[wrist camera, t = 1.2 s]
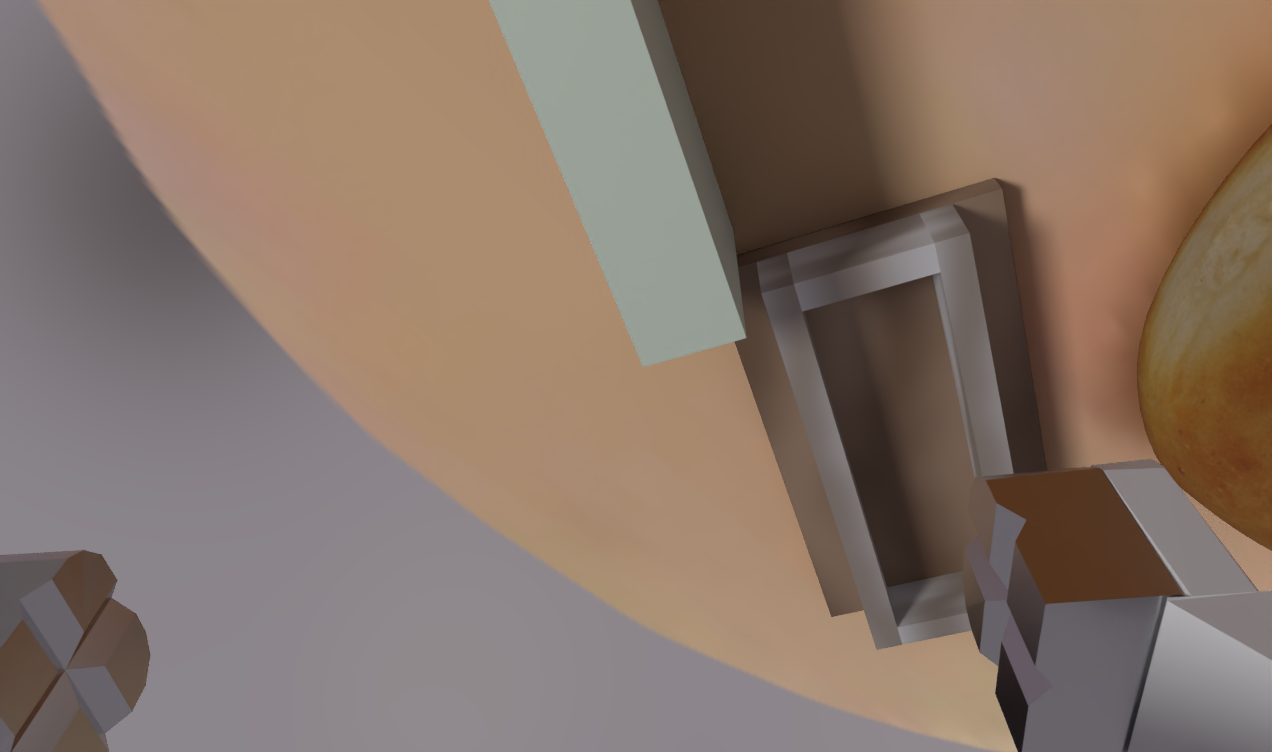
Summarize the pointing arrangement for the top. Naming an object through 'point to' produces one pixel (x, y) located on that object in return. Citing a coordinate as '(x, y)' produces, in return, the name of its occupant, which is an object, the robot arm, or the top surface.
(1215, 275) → the bread
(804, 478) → the grey rectangular tray
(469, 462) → the top surface
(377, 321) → the top surface
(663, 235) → the pale green rectangular block
